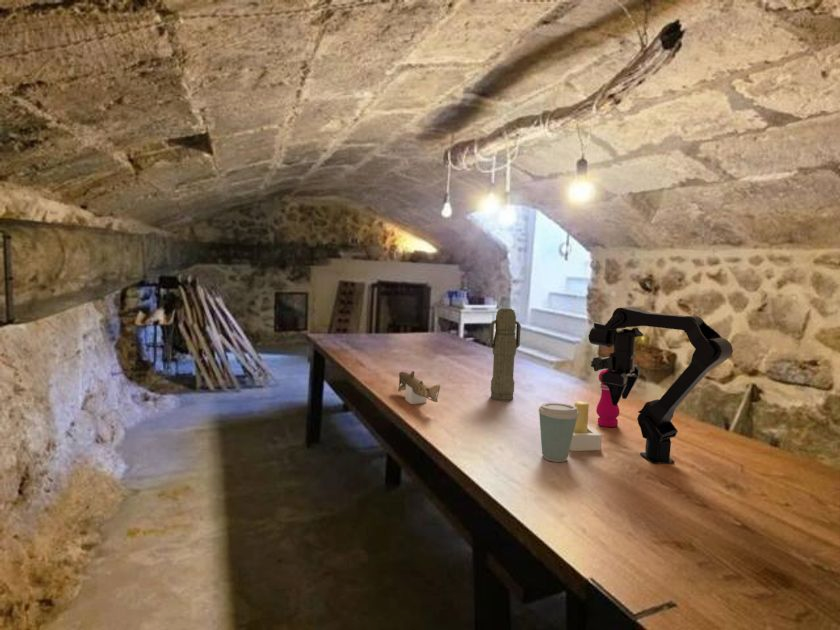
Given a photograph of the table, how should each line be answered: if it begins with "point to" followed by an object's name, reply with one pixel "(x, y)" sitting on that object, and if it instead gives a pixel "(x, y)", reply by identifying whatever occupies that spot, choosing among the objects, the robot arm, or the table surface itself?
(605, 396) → the pepper mill
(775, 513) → the table surface
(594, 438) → the socket
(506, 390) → the thermos
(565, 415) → the disposable coffee cup
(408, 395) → the wood carving
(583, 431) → the peg
